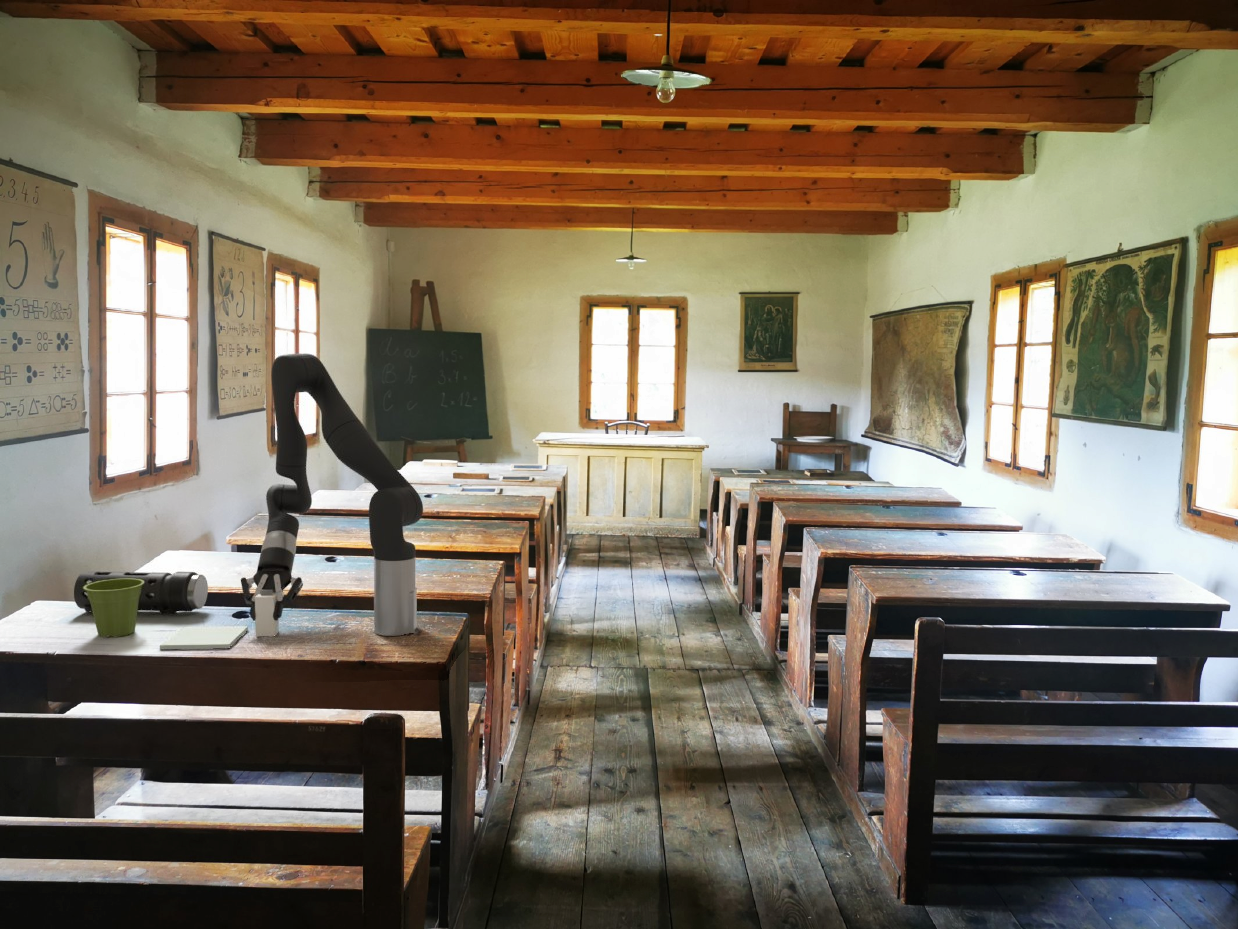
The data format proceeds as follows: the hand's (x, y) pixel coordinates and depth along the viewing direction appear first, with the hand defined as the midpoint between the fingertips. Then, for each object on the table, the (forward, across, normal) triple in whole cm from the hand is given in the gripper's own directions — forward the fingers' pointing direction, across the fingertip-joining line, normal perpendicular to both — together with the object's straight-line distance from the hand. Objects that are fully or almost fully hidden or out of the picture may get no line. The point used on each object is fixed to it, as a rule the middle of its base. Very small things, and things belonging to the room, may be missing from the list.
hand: (264, 618), depth 201 cm
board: (+4, -12, +1) cm, 13 cm away
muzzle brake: (-12, -34, +19) cm, 41 cm away
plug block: (+2, 0, +4) cm, 5 cm away
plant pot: (0, -33, +6) cm, 34 cm away
